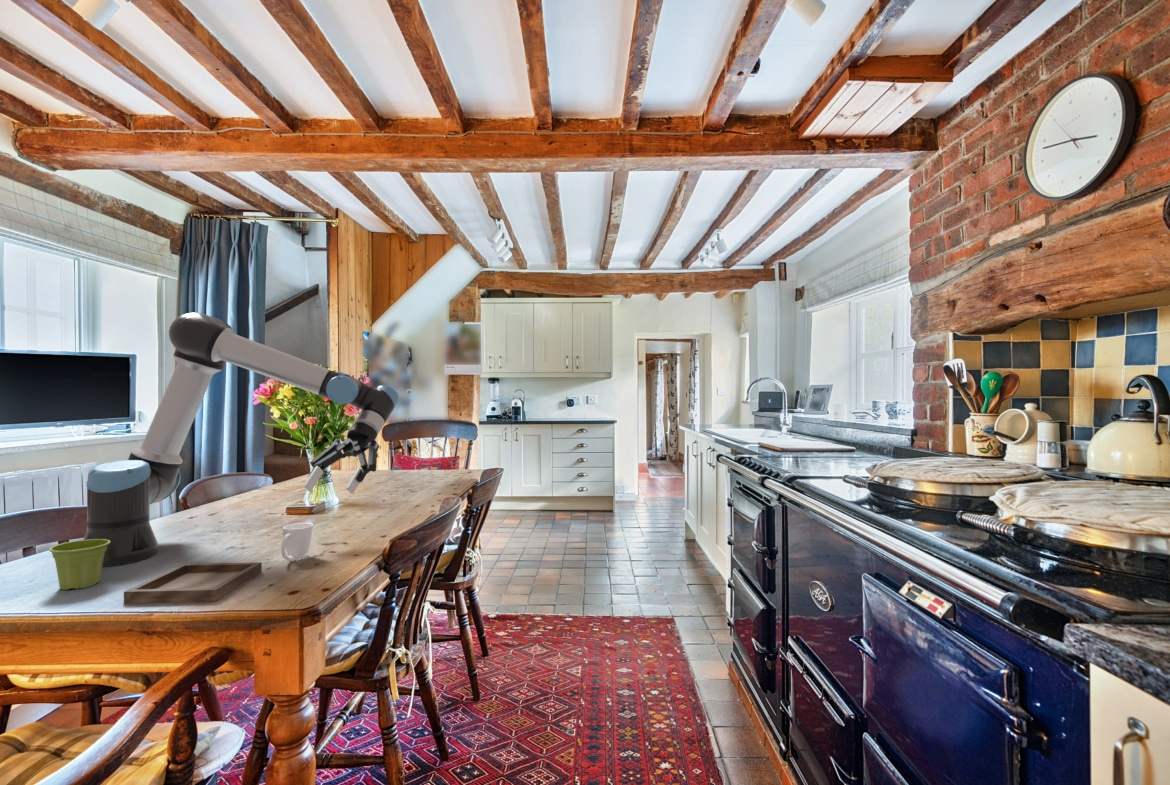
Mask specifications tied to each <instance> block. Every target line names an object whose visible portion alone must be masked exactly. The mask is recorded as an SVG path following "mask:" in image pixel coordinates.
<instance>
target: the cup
mask: <svg viewBox="0 0 1170 785" xmlns="http://www.w3.org/2000/svg"><path fill="white" fill-rule="evenodd" d="M313 527H314V523H311V522H295V523H289V524H286V525H284V526H283V527H282V534H283V539H282V541H281V546H280V547H281V548H280V552H281V556H282V559H283V558H284V560H286V561H288V562H295V561H294V560H296V561H302V560H301V559H303V560H305V559H304V558H306V559H307V558H308V556H309V555H308V552H309V549H310V545H311V541H312V533H313V529H314V528H313ZM286 553H287V554H286ZM287 555H288V556H287Z"/></svg>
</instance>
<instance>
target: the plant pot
mask: <svg viewBox="0 0 1170 785" xmlns="http://www.w3.org/2000/svg"><path fill="white" fill-rule="evenodd" d="M108 544H110V540H107V539H89V540H83V539H82V540H72V541H68V542H63V543H59V544H56V545H53V546H51V547H50V548H49V549H48V550H49V552H50V553H51V555H52V558H53V559H54V563H55V569H56V574H57V581H58V585H59V589H60V590H64V591H68V590H70V589H75V590H78V589H79V588H81V589H85V588H87V586H88V587H92V586H94V584H95V585H96V584H97V583H99V582H100V580H101V575H102V570H103V567H102V565H103V559H104V554H105V551H106V550H107V546H108ZM91 585H92V586H91ZM84 587H85V588H84Z"/></svg>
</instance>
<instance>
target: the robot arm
mask: <svg viewBox="0 0 1170 785" xmlns="http://www.w3.org/2000/svg"><path fill="white" fill-rule="evenodd" d="M168 336H169V337H168V338H169V341H170V343H171V344H172V346H173V347H175V350H174V352H173V356H172V357H173V358H174V360H175V361H176V365H175V368H174V370H173V372H172V375H171V377H170V380H169V382H168V383H167V387H166V388H165V391H164V393H163V395H162V398H161V400H160V402H159V404H158V407H157V409H156V412H155V414H154V416H153V419H152V421H151V423H150V426H149V427H148V429H147V432H146V434H145V437H144V439H143V442H142V444H141V445H140V446H139V447H136V448H134V449H132V450H131V451H130V454H129V456H128V458H127V460H116V461H112V462H105V463H102V464H98V465H95V466H93V467H91V468H90V469H89V470H88V473H87V479H86V484H85V485H86V517H87V518H86V523H87V524H86V533H85V535H84V537H83V539H82V540H89V539H107V540H110V544H108V546H107V550H106V551H105V554H104V559H103V565H102V568H103V567H111V566H118V565H119V566H120V565H125V564H129V563H134V562H138V561H142V560H145V559H148V558H151V557H153V556H156V555H158V552H159V542H158V539H157V538H156V535H155V532H154V531H153V528H152V525H151V522H150V513H151V510H150V506H151V505H153V504H156V503H159V502H161V501H164V500H165V499H167V498H169V497H170V496H171V495H172V494H173V493H174V492H175V491H176V490H177V488H178V487H179V485H180V483H181V480H182V479H181V478H182V477H181V476H182V475H181V471H180V470H181V467H182V465H183V464H184V463H183V462H184V460H183V459H182V457H181V455H180V453H181V451H182V448H183V446H184V443H185V442H186V439H187V437H188V434H189V432H190V430H191V427H192V425H193V423H194V420H195V418H196V417H197V413H198V411H199V409H200V406H201V404H202V401H203V399H204V397H205V394H206V392H207V390H208V387H209V385H210V383H211V380H212V379H213V378H212V377H213V376H214V375H215V374H217V373H219V372H221V371H223V368H224V367H225V364H226V363H228V364H232V365H234V366H236V367H237V366H238V367H240V368H242V369H245V370H248V371H251V372H254V373H257V374H259V375H263V376H265V377H268V378H271V379H274V380H275V381H276V380H277V381H279V382H281V383H285V384H286V385H287V384H288V385H290V386H292V387H296V388H298V389H301V390H304V391H307V392H309V393H312V394H314V395H318V396H320V397H323V398H326V399H329V400H331V401H333V403H336V404H337V403H338V404H340V405H344V404H349V405H351V406H353V407H355V408H357V409H359V410H361V411H360V413H359V414H358V416H357V417H356V419H355V420H354V422H353V423H352V426H351V427H350V428H349V429H348V432H347V435H346V438H345V440H343V441H341V440H340V439H339V438H336V439H334V441H333V442H332V443H331V444H330V445H329V446H328V447H326V448H325V449H324V450H323V451H321V453H319V454H318V455H317V456H316V457H314V458H313V459H312V460H311V461H310V462H309V464H310V466H312V470H311V471H310V472H309V474H308V477H307V478H306V480H305V482H304V483H303V487H304V488H305V489H306V490H307V491H308V492H312V491H313V489H314V488H315V486H316V484H317V483H318V481H319V480H320V478H321V477H322V475H323V473H324V471H323V470H325V469H327V468H328V467H329V466H331V465H333V464H335V463H336V462H339V460H341V459H345V458H346V457H358V462H359V464H360V465H359V466H360V467H357V469H356V470H355V472H354V473H353V474H352V477H351V479H350V480H349V482H348V483H347V485H346V487H345V489H346V490H347V491H348V492H349V494H352V495H353V494H355V491H356V490H357V488H358V487H359V485H360V483H362V482H363V481H364V479H365V477H366V476H367V474H369V473H370V472H373V473H374V472H376V471H377V468H378V465H377V463H378V462H377V460H378V459H377V458H378V450H379V448H380V445H379V443H378V442H377V441H376V439H377V437H378V435H379V434H380V433H381V430H382V429H383V427H384V425H385V424H386V422H387V420H388V419H389V417H391V414H392V412H393V411H394V410H395V407H396V405H397V403H398V402H399V394H398V392H397V391H396V390H395V389H394V388H393V387H391V386H389V385H385V384H382V385H377V386H376V388H375V387H372V386H370V385H368V384H366V383H364V382H362V381H360V380H359V379H357V378H355V377H354V376H353V377H352V376H351V375H349V374H347V373H344V372H343V371H335V370H331V369H329V368H326V367H323V366H320V365H318V364H316V363H312V362H309V361H307V360H304V359H302V358H299V357H298V356H295V355H291V354H289V353H287V352H283V351H281V350H279V349H276V348H272V347H271V346H268V345H265V344H263V343H259V342H257V341H254V340H252V339H249V338H247V337H243V336H241V335H238V334H237V333H236V331H235V329H234V328H233V327H232V326H231V325H230V324H228V323H227V322H226V321H224V320H222V319H220V318H217V317H213V316H210V315H208V314H205V313H202V312H201V313H200V312H188V313H183V314H181V315H179V316H178V317H176V318H175V319H174V320H173V321H172V323H171V324H170V326H169V330H168ZM342 451H343V452H342ZM366 451H368V460H367V457H366V455H367V454H366V453H365V452H366Z"/></svg>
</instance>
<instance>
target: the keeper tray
mask: <svg viewBox="0 0 1170 785" xmlns="http://www.w3.org/2000/svg"><path fill="white" fill-rule="evenodd" d="M262 562H263V561H262ZM262 562H258V561H257V562H215V563H214V562H209V563H206V562H205V563H204V562H203V563H199V562H198V563H182V564H180V565H177V566H175V567H174V568H171V569H169V570H167V571H165V572H163V573H161V574H159V575H156V576H154V577H153V578H150V579H148V580H145V581H144V582H142V583H140V584H137V585H135V586H133V587H131V588H129V589H127V590H125V591H123V604H127V605H128V604H161V603H164V604H168V603H169V604H170V603H205V602H206V603H209V602H211V603H213V602H218V600H221V599H222V598H224V597H225V596H227V595H228V594H229V593H231V592H233V591H235V590H236V589H237V588H239V587H241V586H242V585H244V584H246V583H248V582H249V581H250V580H252V579H254V578H255V577H256V576H258V575H260V574H262V573H263V572H262V567H263V566H262ZM253 577H254V578H253Z"/></svg>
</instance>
